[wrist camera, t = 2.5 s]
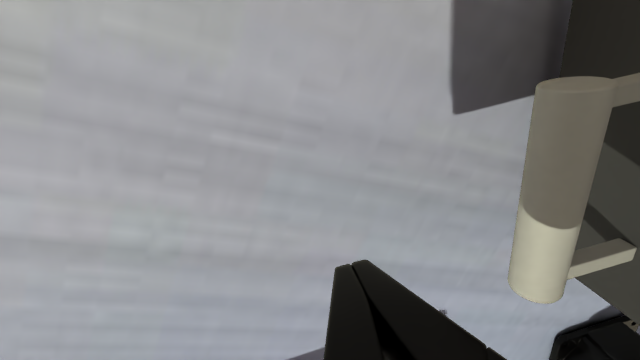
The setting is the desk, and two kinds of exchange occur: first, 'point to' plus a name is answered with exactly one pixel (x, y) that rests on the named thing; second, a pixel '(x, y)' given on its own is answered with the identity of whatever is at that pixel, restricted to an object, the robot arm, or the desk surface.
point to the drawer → (585, 166)
